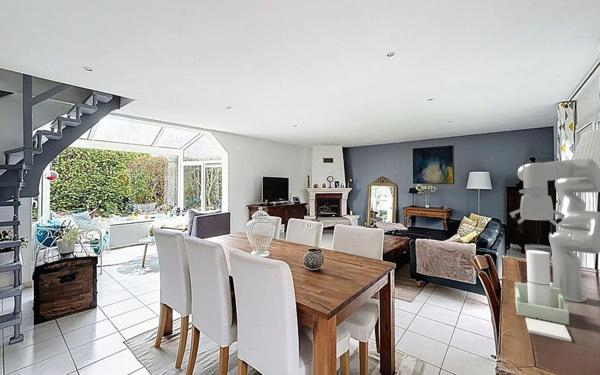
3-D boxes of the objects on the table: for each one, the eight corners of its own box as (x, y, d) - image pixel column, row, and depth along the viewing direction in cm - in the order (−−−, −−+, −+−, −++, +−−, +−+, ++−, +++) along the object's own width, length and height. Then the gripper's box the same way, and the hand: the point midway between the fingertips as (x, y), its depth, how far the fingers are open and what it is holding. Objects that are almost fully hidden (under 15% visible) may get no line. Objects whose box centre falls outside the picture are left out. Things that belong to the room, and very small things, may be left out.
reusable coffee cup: (545, 274, 159) (544, 248, 159) (521, 268, 170) (520, 245, 171) (556, 271, 164) (555, 246, 165) (531, 266, 176) (530, 243, 176)
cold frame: (515, 302, 121) (514, 282, 121) (561, 310, 112) (560, 288, 112) (517, 314, 109) (516, 292, 109) (569, 325, 100) (568, 300, 100)
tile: (525, 320, 104) (525, 317, 104) (564, 328, 98) (564, 325, 98) (528, 332, 96) (528, 329, 96) (571, 342, 89) (571, 339, 89)
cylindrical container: (529, 313, 110) (527, 252, 110) (527, 307, 115) (525, 249, 116) (553, 318, 105) (551, 254, 106) (549, 311, 111) (547, 251, 112)
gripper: (509, 192, 113) (510, 233, 113) (566, 192, 103) (567, 236, 103) (508, 192, 119) (509, 231, 119) (562, 192, 109) (563, 234, 109)
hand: (536, 233), depth 111 cm, fingers open, 9 cm apart
